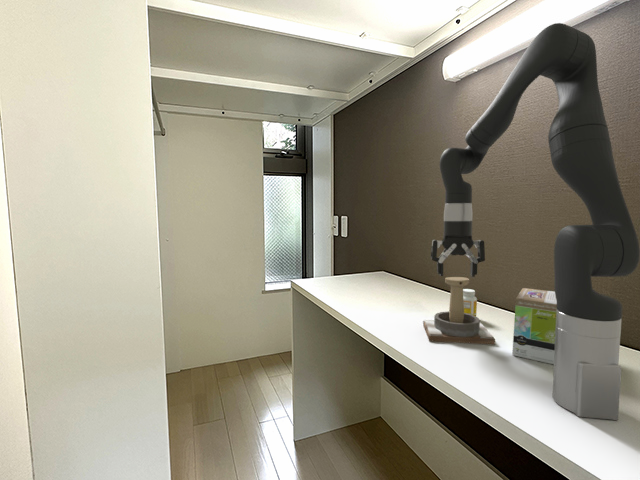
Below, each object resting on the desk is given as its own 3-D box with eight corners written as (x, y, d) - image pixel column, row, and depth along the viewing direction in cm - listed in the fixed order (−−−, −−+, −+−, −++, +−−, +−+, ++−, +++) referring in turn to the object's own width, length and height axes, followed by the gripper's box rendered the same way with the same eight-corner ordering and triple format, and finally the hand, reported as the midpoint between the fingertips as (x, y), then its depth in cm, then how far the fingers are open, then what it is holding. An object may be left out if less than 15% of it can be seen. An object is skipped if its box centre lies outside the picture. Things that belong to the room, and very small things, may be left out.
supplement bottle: (464, 321, 110) (464, 292, 109) (455, 316, 115) (456, 288, 114) (479, 320, 110) (480, 291, 110) (470, 315, 116) (471, 288, 115)
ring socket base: (494, 344, 90) (495, 326, 90) (429, 341, 93) (429, 323, 93) (480, 328, 103) (481, 312, 103) (423, 325, 106) (423, 310, 106)
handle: (471, 331, 96) (472, 280, 94) (448, 332, 96) (449, 280, 94) (463, 326, 101) (464, 276, 99) (442, 326, 100) (442, 277, 99)
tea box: (561, 367, 77) (564, 303, 76) (511, 356, 83) (513, 297, 82) (562, 345, 89) (565, 291, 88) (519, 337, 95) (521, 286, 94)
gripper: (433, 220, 93) (433, 277, 94) (488, 219, 91) (487, 279, 92) (429, 219, 100) (429, 273, 102) (480, 219, 98) (479, 274, 99)
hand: (456, 276), depth 97 cm, fingers open, 8 cm apart
